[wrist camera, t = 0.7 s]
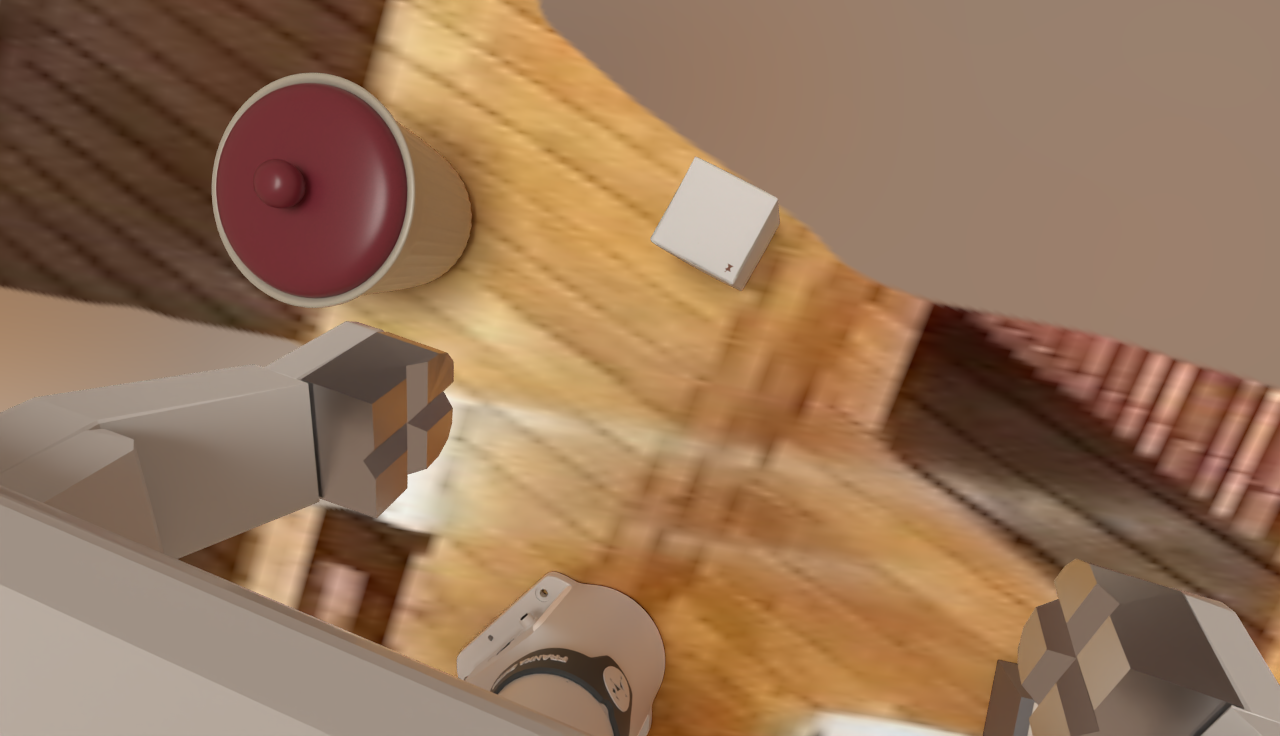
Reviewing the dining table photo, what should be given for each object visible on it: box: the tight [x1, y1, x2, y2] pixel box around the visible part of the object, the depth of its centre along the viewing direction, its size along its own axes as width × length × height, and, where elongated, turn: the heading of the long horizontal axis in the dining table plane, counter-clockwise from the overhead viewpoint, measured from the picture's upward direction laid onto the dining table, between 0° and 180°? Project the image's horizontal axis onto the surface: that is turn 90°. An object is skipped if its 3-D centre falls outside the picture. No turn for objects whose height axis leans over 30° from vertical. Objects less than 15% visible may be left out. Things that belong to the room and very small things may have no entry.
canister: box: [212, 73, 472, 308], centre depth 58 cm, size 18×18×21 cm
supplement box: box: [651, 157, 780, 291], centre depth 56 cm, size 7×7×13 cm
